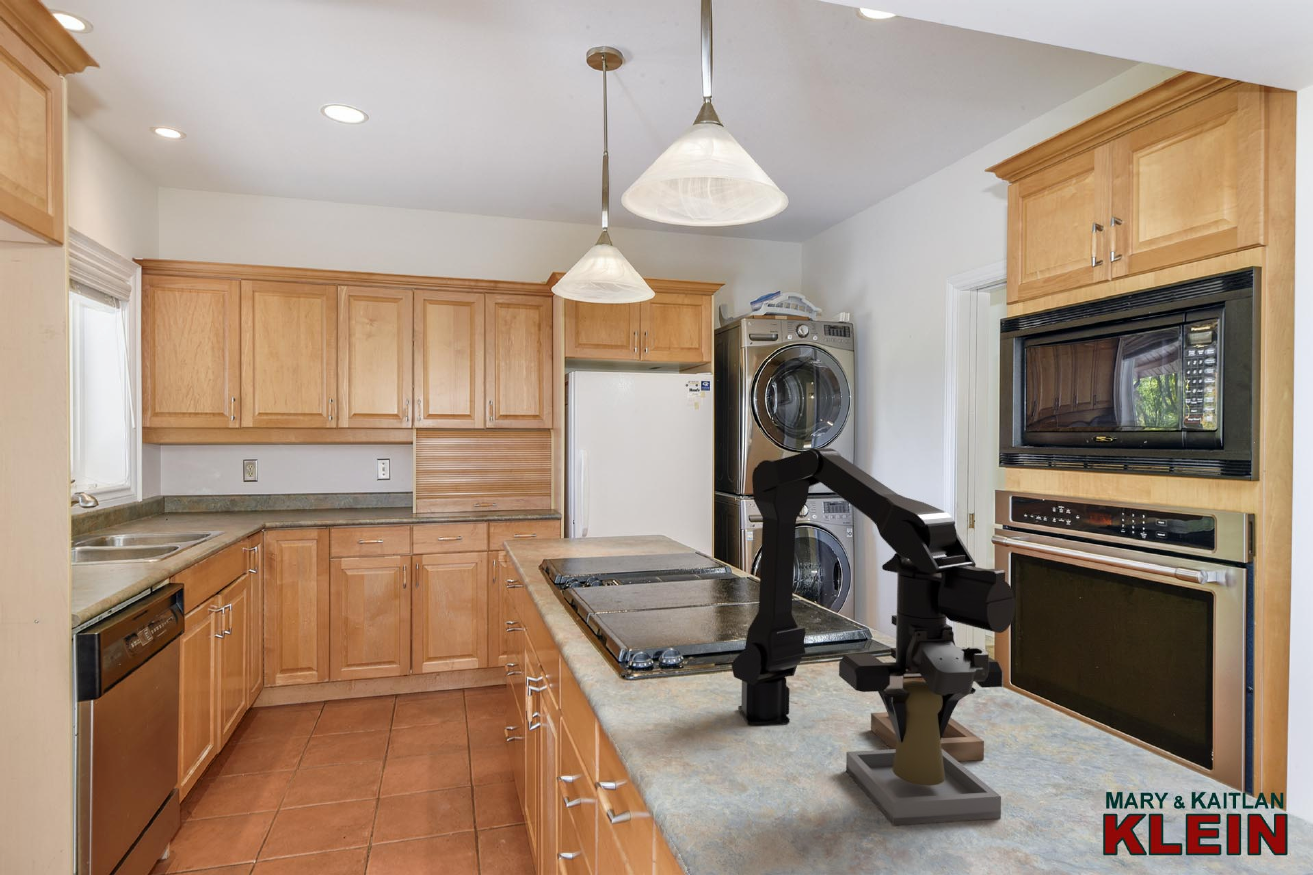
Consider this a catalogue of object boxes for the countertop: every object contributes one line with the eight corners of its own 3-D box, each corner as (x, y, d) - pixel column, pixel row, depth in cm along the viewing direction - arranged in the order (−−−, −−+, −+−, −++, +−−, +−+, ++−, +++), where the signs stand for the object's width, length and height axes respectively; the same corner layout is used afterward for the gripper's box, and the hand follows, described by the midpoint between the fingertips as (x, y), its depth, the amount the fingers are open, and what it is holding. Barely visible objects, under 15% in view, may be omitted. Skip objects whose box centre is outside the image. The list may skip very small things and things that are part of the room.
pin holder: (907, 763, 95) (907, 744, 95) (870, 729, 105) (871, 712, 105) (983, 759, 96) (984, 741, 96) (939, 726, 107) (940, 709, 107)
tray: (893, 825, 79) (894, 802, 79) (846, 770, 92) (846, 751, 92) (1000, 817, 81) (1001, 796, 81) (939, 765, 94) (939, 746, 94)
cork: (949, 788, 83) (951, 694, 83) (895, 782, 85) (897, 689, 84) (940, 764, 89) (941, 677, 89) (889, 759, 90) (891, 673, 90)
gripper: (879, 633, 77) (876, 775, 78) (1035, 629, 80) (1032, 767, 80) (838, 607, 88) (836, 732, 89) (977, 605, 91) (974, 726, 91)
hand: (918, 740), depth 87 cm, fingers closed on cork, 4 cm apart
